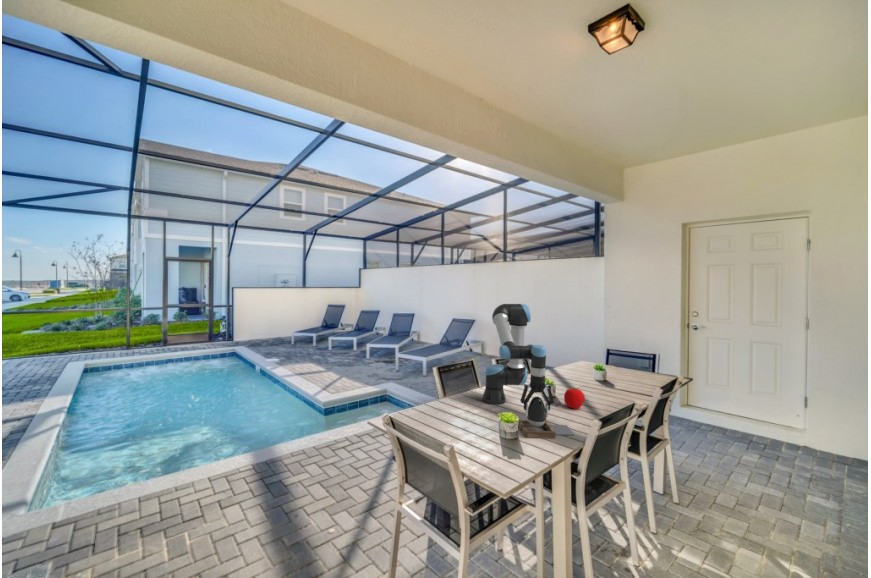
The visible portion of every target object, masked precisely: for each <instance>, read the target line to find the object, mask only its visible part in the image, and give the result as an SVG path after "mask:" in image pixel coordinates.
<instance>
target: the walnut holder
mask: <svg viewBox="0 0 871 578" xmlns="http://www.w3.org/2000/svg"><path fill="white" fill-rule="evenodd" d="M550 425H551V424H550V423H549V421H547V420H546V421H545V423H544V425H542V426H539V427H540V428H541V427H543V428H545V429H546V430H545V431H544V430H543V431H542V430H541V431H538V430H528V429H527V427H528V428H529V427H534V428H535V427H536V426H533V425H531V424H530V423H529V422H528V419H527V420H523V419H519V420H518V427H519V430H520V431H521V433H522V434H523V436H524V438H525V439H526V438H527V439H556V435H555V431H554V430H553V429H552V427H551V426H550ZM536 428H537V427H536Z"/></svg>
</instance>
